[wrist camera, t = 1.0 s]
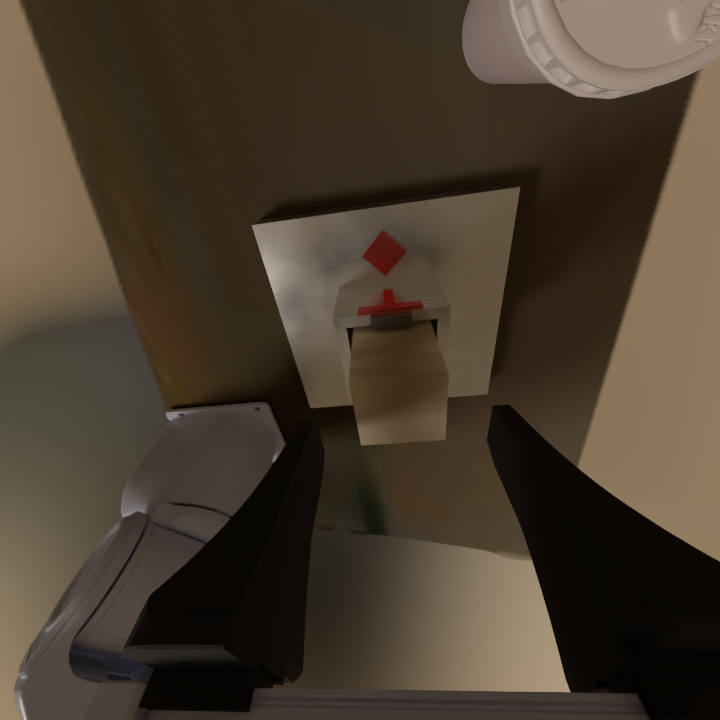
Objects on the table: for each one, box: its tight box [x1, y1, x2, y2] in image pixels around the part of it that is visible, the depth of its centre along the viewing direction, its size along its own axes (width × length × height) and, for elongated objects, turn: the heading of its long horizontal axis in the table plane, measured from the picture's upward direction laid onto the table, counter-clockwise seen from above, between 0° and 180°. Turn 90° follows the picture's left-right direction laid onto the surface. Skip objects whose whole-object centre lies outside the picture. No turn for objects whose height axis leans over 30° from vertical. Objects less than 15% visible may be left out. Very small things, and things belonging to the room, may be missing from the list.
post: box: [349, 319, 449, 445], centre depth 16 cm, size 4×4×8 cm
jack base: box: [252, 184, 520, 408], centre depth 18 cm, size 14×14×6 cm
